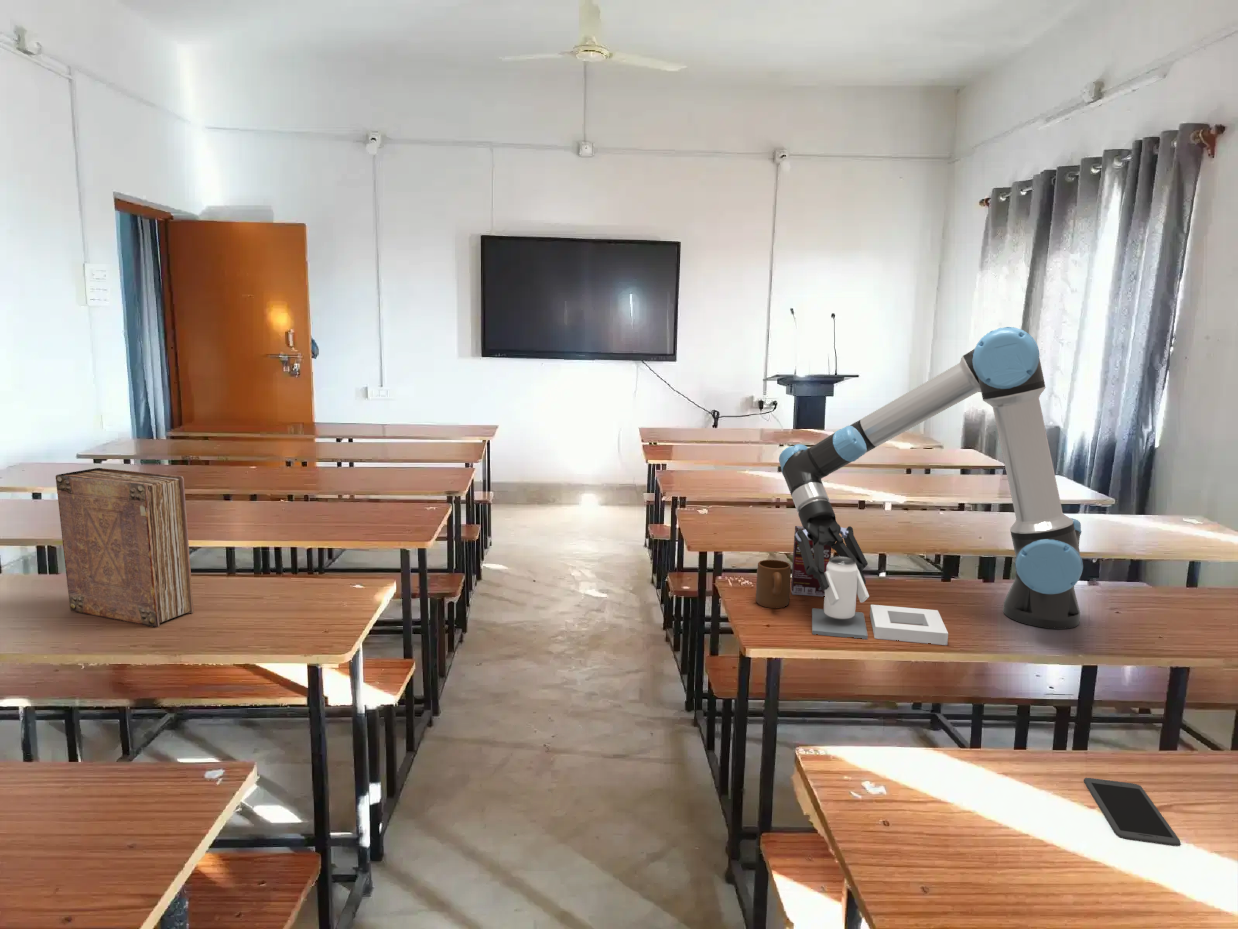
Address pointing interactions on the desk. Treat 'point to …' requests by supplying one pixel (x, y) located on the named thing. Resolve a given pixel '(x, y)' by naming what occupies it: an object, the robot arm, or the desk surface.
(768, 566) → the mug
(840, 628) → the mat
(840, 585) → the can
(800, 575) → the supplement box
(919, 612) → the can holder
